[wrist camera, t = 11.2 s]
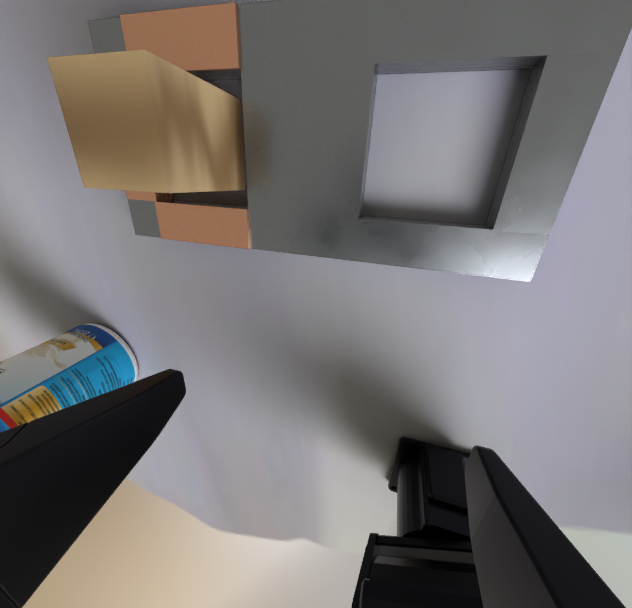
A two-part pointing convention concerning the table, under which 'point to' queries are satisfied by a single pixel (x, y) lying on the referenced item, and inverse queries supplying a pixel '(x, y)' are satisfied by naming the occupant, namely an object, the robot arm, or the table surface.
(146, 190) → the wooden block
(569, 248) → the table surface
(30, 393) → the beverage bottle
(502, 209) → the rail frame
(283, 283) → the table surface
